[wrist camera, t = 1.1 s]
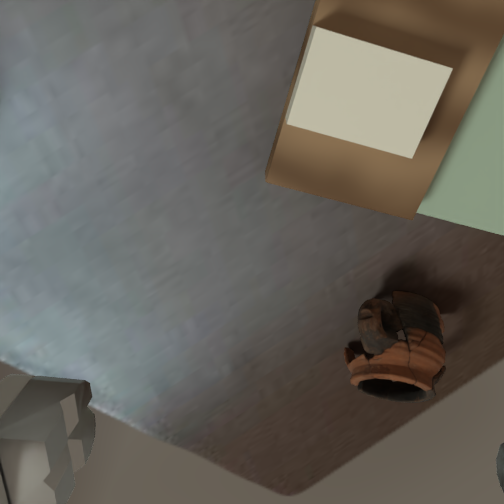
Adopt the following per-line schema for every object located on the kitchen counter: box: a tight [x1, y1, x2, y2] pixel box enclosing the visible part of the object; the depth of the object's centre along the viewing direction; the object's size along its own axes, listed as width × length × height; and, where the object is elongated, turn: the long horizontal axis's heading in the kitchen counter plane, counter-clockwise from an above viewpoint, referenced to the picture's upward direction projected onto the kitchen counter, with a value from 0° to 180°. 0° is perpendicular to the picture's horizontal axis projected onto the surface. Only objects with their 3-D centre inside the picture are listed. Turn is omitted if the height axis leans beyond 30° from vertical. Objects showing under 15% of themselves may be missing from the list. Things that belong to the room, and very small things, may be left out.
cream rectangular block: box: [285, 25, 453, 159], centre depth 30 cm, size 9×6×2 cm, turn 75°
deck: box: [265, 0, 504, 220], centre depth 32 cm, size 16×12×2 cm
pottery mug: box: [344, 291, 446, 403], centre depth 42 cm, size 12×10×8 cm
